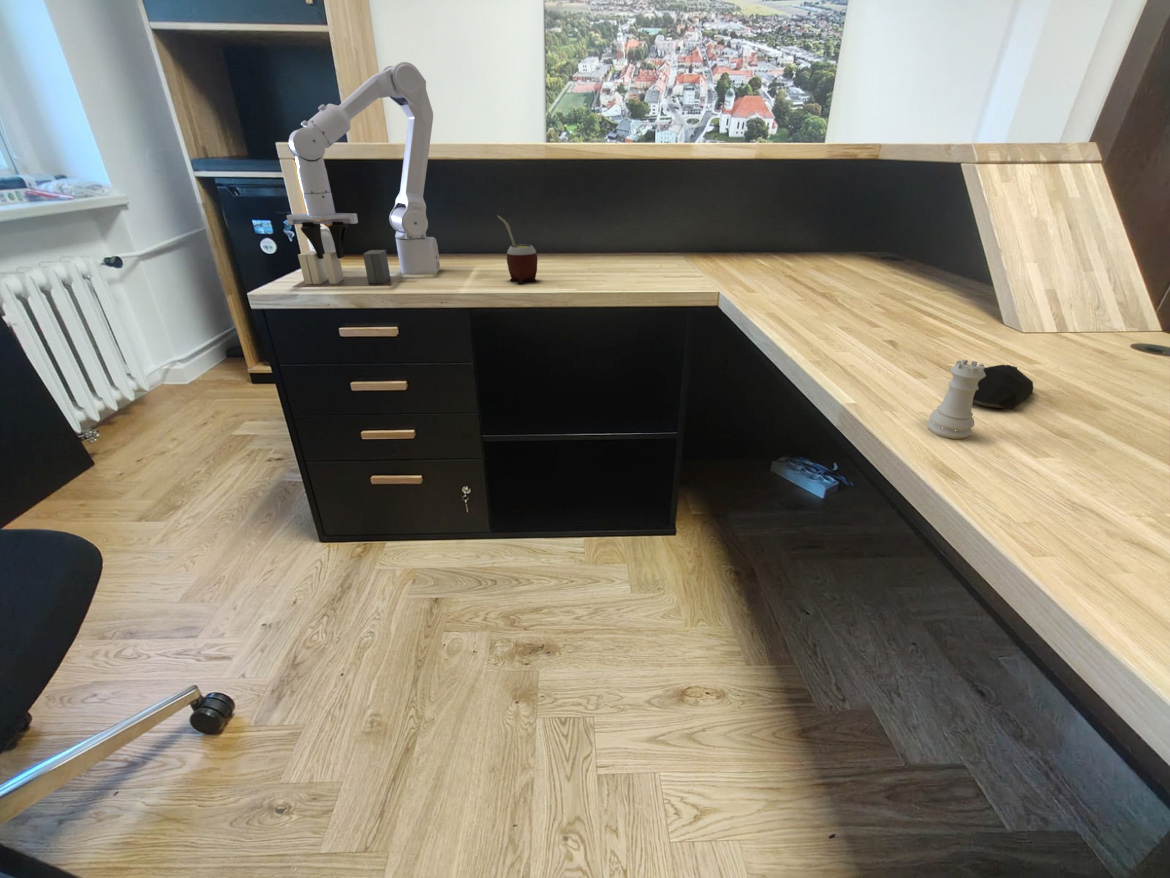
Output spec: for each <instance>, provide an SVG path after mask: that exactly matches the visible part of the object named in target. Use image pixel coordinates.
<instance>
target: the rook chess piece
mask: <svg viewBox="0 0 1170 878" xmlns="http://www.w3.org/2000/svg"><path fill="white" fill-rule="evenodd" d="M984 368H985V364H984V363H981V362H980V363H979V364H978V361H975V360H972V361H971V364H969V360H968V359H961V360H957V361H956V363H955V365H954V366H953V367H951V368H950V369H949V370H950V372H951V373H950V374H951V375H952V378H951V380H950V381H949V382H948V389H947V391H946V394H945V396H944V398H943V400H942V402H941V403H940V405H938V406H937V407H936V409H934V410H933V411H931V413H930V414H929V420H927V421H926V425H927V428H928V429H929V431H930V432H931V433H933V434H934V435H937V436H939V437H943V438H946V439H951V440H961V439H965V438H967V437H969V436H971V435H972V434H973V429H972V428H973V427H974V426H975V419H974V417H973V416H974V414H973V412H972V407H973V403H972V402H973V397H974V394H975V391H976V390H978V389H979V388H978V382H979V380H981V379H982V378H984V377H985V376H986V374H985V372H984ZM932 421H933V422H934V423H935V424H934V423H933V422H932ZM942 427H943V428H942ZM955 430H956V431H955Z"/></svg>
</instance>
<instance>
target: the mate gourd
mask: <svg viewBox="0 0 1170 878" xmlns="http://www.w3.org/2000/svg"><path fill="white" fill-rule="evenodd" d="M496 217H497V218H498V219H499V220H500V221H501V222H502V223H503V224H504V225H505V228H506V230H507V232H508V235H509V238H510V241H511V245H510V246H509V247H508V249H507V251H506V264H507V269H508V272H509V275H510V279H509V281H510V282H513V283H514V282H515V283H518V285H523V284H525V283H536V282H537V279H536V277H537V272H538V254H537V251H536V248H535V247H534V246H533V245H532V244H526V243H525V244H524V243H522V244H521V243H520V244H516V243H515V240H514V237H513V233H512V231H511V226H510V224H509V223H508V222H507V221H506V219H504V218H502V217H501V216H500V215H496Z"/></svg>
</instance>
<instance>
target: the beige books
mask: <svg viewBox="0 0 1170 878" xmlns="http://www.w3.org/2000/svg"><path fill="white" fill-rule="evenodd" d="M297 257H298V261H299V265H300V270H301V274H302V278H303V281H304V282H305V284H321V283H323V282H324V281H326V280H328V277H327V272H326V268H325V263H324V259H323V258H322V259H319V257H318V255H317V253H316V251H310V250H306V251H304V252H302V253H299V254H297Z"/></svg>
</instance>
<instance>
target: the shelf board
mask: <svg viewBox="0 0 1170 878" xmlns="http://www.w3.org/2000/svg"><path fill="white" fill-rule="evenodd" d="M343 277H344V279H343V280H342V281H340V282H338V283H337V284H329V279H328V280H326V281H324V282H323V283H321V284H305V282H304V280H302V281H300V282H299V283H297V284H295V285H293V286H292V288H339V287H343V288H344V287H345V288H346V287H392V286H393V285H394V284H395V283H396V282H398V281H399V280H400V279H401V278H402V277H403V276H402V275H390V279H389V280H388V281H387V282H385V283H368V278H367V276H343Z"/></svg>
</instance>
